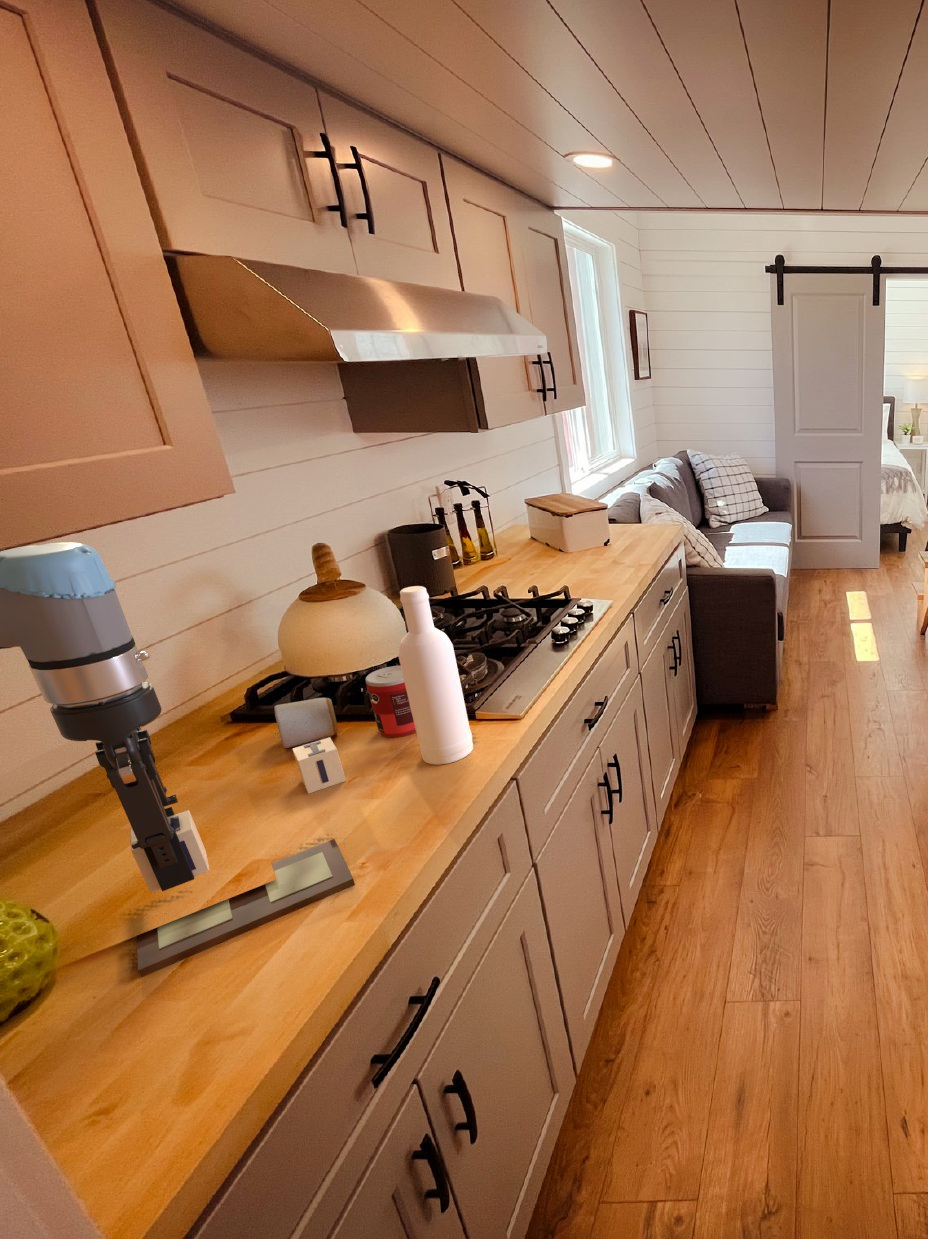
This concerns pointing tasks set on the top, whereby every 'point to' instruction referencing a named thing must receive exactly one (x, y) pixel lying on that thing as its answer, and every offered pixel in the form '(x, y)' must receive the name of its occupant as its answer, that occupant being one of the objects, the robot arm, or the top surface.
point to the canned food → (390, 702)
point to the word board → (247, 907)
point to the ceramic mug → (305, 721)
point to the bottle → (432, 683)
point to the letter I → (319, 765)
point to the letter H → (189, 844)
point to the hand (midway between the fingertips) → (176, 870)
